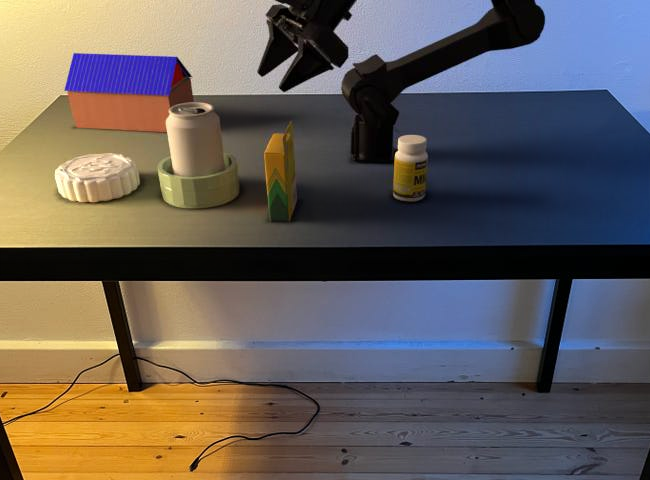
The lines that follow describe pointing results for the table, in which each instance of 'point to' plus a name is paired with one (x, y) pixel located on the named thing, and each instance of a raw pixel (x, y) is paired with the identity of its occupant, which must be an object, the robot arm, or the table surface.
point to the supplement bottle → (410, 168)
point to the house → (126, 90)
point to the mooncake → (97, 177)
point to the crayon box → (281, 175)
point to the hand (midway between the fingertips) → (269, 82)
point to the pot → (199, 185)
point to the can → (195, 140)
